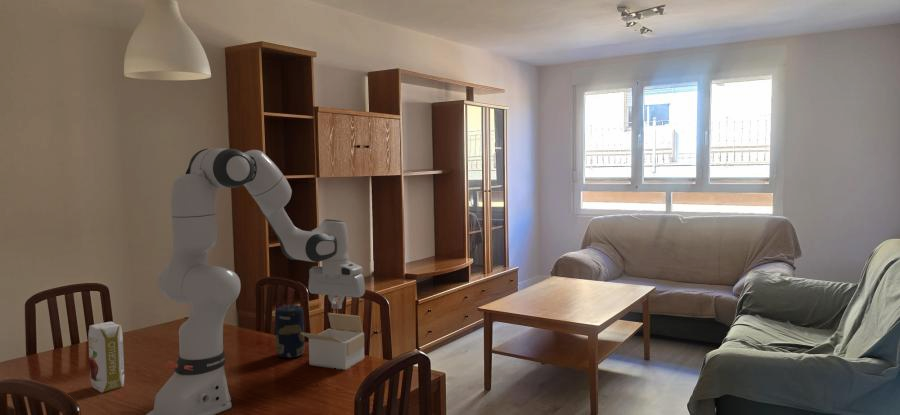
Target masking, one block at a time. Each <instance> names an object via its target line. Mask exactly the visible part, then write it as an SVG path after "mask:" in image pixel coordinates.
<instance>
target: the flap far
mask: <svg viewBox="0 0 900 415" xmlns="http://www.w3.org/2000/svg"><path fill="white" fill-rule="evenodd" d="M327 316H328V321H329V323H330V324H329V325H330V329H335V330H344V331H353V332H361V333H363V325H362V320H361V316H360V315H356V314H355V315H353V314H345V313H332V312H327Z"/></svg>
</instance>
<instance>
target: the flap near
mask: <svg viewBox="0 0 900 415" xmlns="http://www.w3.org/2000/svg"><path fill="white" fill-rule="evenodd" d="M300 334H302V335H304V337H306V338H308V339H309V338H310V339H317V340H325V341H333V342H341V343H342V342H343V341H342V340H340V339H338V338H336V337H334V336H328V335H319V333H312V332H310V333H309V332H304V333H303V332H301V333H300Z"/></svg>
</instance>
